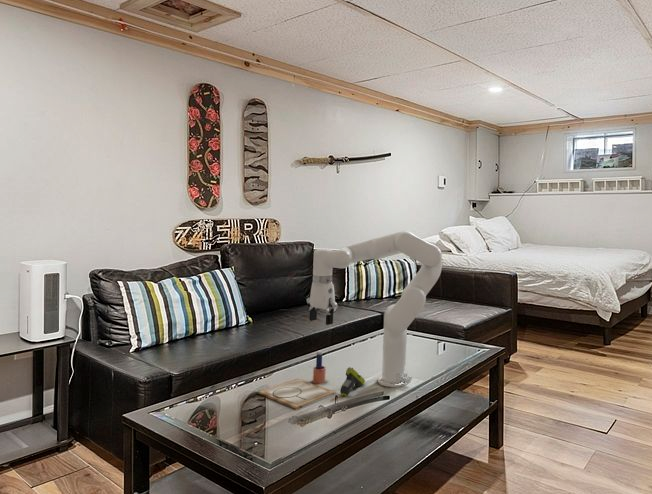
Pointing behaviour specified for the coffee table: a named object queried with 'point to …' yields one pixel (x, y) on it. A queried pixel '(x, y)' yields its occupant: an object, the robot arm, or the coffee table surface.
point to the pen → (319, 360)
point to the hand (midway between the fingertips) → (321, 322)
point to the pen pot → (319, 375)
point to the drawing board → (296, 393)
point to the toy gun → (351, 381)
